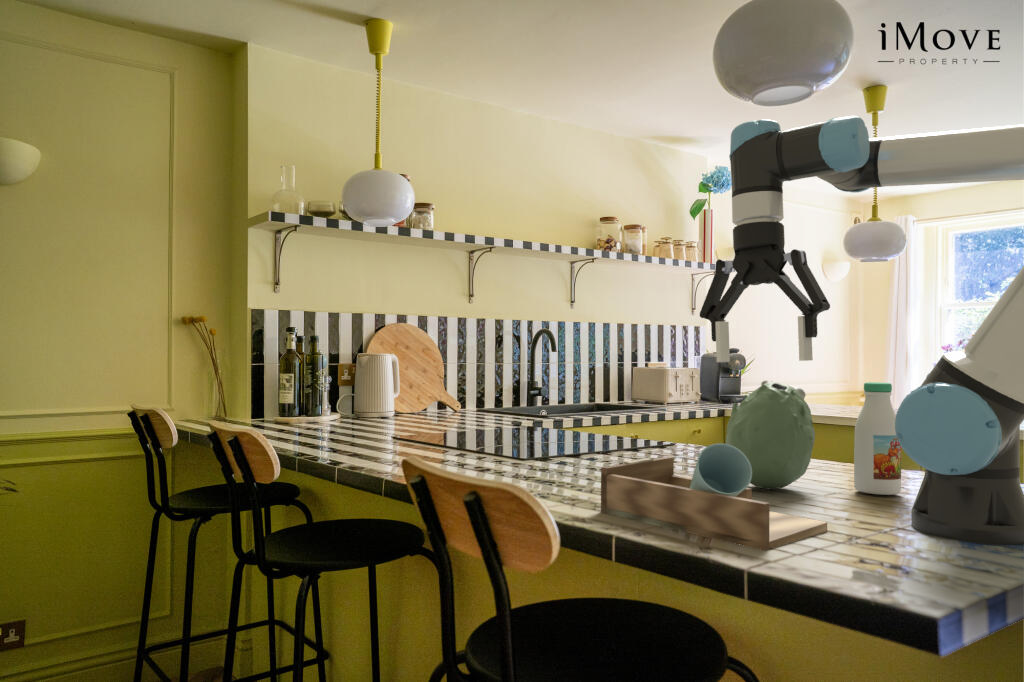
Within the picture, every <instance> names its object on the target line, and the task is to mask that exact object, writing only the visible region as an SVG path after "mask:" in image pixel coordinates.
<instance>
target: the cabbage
mask: <svg viewBox="0 0 1024 682" xmlns="http://www.w3.org/2000/svg"><path fill="white" fill-rule="evenodd" d="M760 383H761V384H760V386H759V387H757V388H756V389H755V390H753V391H752V392H751V393H749V394H744V399H743V400H741V402H740V404H739V405H738V404H737V402H736V401H734V402H733V403H734V404H732V407H731V412H730V418H729V420H728V422H727V426H726V436H725V444H728V445H731V446H734V447H736V448H737V449H739V450H740V451H741V452H742V453H744V455H745V456H746V457H747V458H748V460H749V462H750V464H751V467H752V479H751V482H750V484H751V485H753V486H755V487H758V488H761V489H764V490H771V489H783V488H785V487H787V486H790V485H791V484H792V483H795V482H796V481H798V480H799V479H800V478H801V477H802V476H804V475H805V474H806V471H807V469H808V468H809V465H810V462H811V458H812V454H813V453H812V452H813V448H814V445H815V439H816V432H815V429H814V425H813V417H812V411H811V409H810V407H809V405H808V403H807V402H806V400H805V397H806V394H807V393H806V392H805V391H804V389H802V388H800V387H798V386H796V387H792V386H791V385H789V384H782V383H780V382H774V381H772V380H769V379H767V380H763V381H762V382H760Z"/></svg>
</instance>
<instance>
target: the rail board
mask: <svg viewBox="0 0 1024 682" xmlns="http://www.w3.org/2000/svg"><path fill="white" fill-rule="evenodd" d="M674 465H675V464H674V457H673V456H664V457H657V458H650V457H646V458H641V459H639V458H638V459H634V460H627V461H624V462H623V463H619V464H614V465H606V466H601V467H600V513H603V514H607V515H611V516H615V517H618V518H619V517H620V518H625V519H628V520H633V521H636V522H641V523H645V524H649V525H654V526H658V527H663V528H666V529H671V530H674V531H680V532H684V533H687V534H692V535H697V536H701V537H706V538H709V539H713V538H714V540H717V539H718V540H717V541H721V540H722V542H726V541H727V542H726V543H730V542H731V543H730V544H734V543H736V544H735V545H739V544H740V546H743V545H744V547H747V546H748V547H747V548H751V547H752V548H751V549H757V550H760V549H761V550H760V551H764V550H765V551H767V549H768V550H771V549H774V548H777V546H778V547H780V545H781V546H784V545H787V544H790V542H791V543H794V542H796V541H800V540H802V539H806V538H810V537H813V536H816V535H820V534H823V533H826V532H828V521H822V520H816V519H812V518H805V517H803V516H802V517H801V516H797V515H791V514H787V513H786V514H785V513H780V512H775V511H772V510H770V505H771V504H770V502H766V501H761V500H756V499H753V494H752V493H753V492H752V491H753V488H751V487H747V488H746V489H745V490H743V491H742V492H741V493H740V494H738V495H737V496H736V497H735V496H729V495H724V494H718V493H713V492H707V491H702V490H697V489H691V488H690V485H691V481H692V478H693V477H686V476H682V475H677V474H676V475H675V474H674V469H675V468H674ZM786 543H787V544H786ZM773 547H774V548H773ZM770 548H771V549H770Z"/></svg>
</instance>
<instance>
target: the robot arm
mask: <svg viewBox="0 0 1024 682" xmlns="http://www.w3.org/2000/svg"><path fill="white" fill-rule="evenodd" d="M729 146H730V150H729V161H730V162H729V163H730V177H731V179H730V180H731V211H732V212H731V213H732V214H731V217H732V218H731V220H732V224H733V225H735V226H734V228H733V229H732V241H733V242H732V243H733V244H732V245H733V246H732V247H733V251H734V257H733V260H726V259H721V258H719V259H717V260H716V261H715V270H714V276H713V278H712V280H711V283H710V286H709V288H708V291H707V294H706V296H705V298H704V301H703V303H702V306H701V310H700V311H699V317H700V318H701V319H706V320H708V321H709V322H710V324H711V328H710V329H711V340H712V342H715V346H716V347H715V349H716V350H715V352H716V353H715V354H716V363H730V362H731V356H730V355H731V353H730V329H729V326H730V325H729V321H727V320H726V317H727V315H728V314H729V313H730V311H731V310H732V309H733V307H734V305H736V303H737V301H738V300H739V298H740V297H741V295H742V294H743V292H744V291H745V290H746V289H748V288H749V286H759V285H761V284H767V285H770V284H771V285H772V284H775V285H776V286H777V287H778V288H779V289H780V290H781V291H782V292H783V294H784V295H786V297H788V299H789V300H790V301H791V302H792V303H793V304H794V305H795V307H797V309H798V310H799V311H800V312H801V315H799V316H797V331H798V332H797V334H798V336H797V337H798V359H799V360H798V361H801V362H802V361H804V362H805V361H808V362H809V361H813V338H817V337H818V315H819V314H820V313H823V312H825V311H829V310H830V308H831V303H830V302H829V300H828V299H827V297H826V295H825V293H824V292H823V290H822V288H821V286H820V285H819V282H818V281H817V279H816V277H815V276H814V273H813V272H812V270H811V268H810V267H809V265H808V259H807V253H806V251H805V250H801V249H796V248H795V249H792V250H791V251H790V252H787V253H786V251H785V243H786V242H785V241H786V240H785V225H784V224H783V223H782V221H783V219H784V196H783V194H784V189H783V184H784V182H791V181H795V180H801V179H806V178H807V179H808V178H814V177H817V178H819V179H820V180H822V181H825V182H827V183H828V184H830V185H831V186H833V187H835V188H836V189H837V190H839V191H842V192H846V193H848V192H849V193H862V192H864V191H867V190H869V189H871V188H872V189H873V188H883V187H898V186H900V187H901V186H921V185H922V186H923V185H941V184H942V185H943V184H963V183H964V184H965V183H980V182H981V183H984V182H985V183H986V182H987V183H988V182H1002V181H1003V182H1005V181H1024V123H1023V124H1014V125H1003V126H993V127H982V128H970V129H960V130H959V129H957V130H949V131H948V130H947V131H946V130H945V131H939V132H937V131H935V132H927V133H917V134H914V133H913V134H905V135H895V136H886V137H873V138H870V136H869V131H868V128H867V126H866V123H865V121H864V120H863V118H862V117H860V116H857V115H851V116H850V115H849V116H844V117H843V116H842V117H833V118H829V119H828V120H825V121H821V122H816V123H812V124H807V125H803V126H800V127H794V128H791V129H786V130H782V129H781V126H780V123H779V122H778V121H776V120H772V119H758V120H750V121H746V122H742V123H740V124H738V125H736V126H735V127H734V128H733V130H732V131H731V133H730V145H729ZM787 262H788V264H789V266H792V267H793V270H794V272H795V274H796V276H797V278H798V279H799V281H800V283H801V285H802V287H803V289H804V290H805V292H806V294H807V296H808V297H807V296H806V295H805V294H804V293H803V292H802V291H801V290H800V289H799V288H798V287H797V286H796V284H795V283H794V282H792V279H790V276H789V275H788V274H787V273H786V272H785V271H784V270H783V269H784V267H785V266H786V265H787ZM734 270H735V272H736V274H735V276H734V277H733V279H732V280H731V282H730V286H729V287H728V288H727V289H726V286H727V284H728V281H729V279H730V274H731V273H732V272H733V271H734ZM725 289H726V291H725ZM724 292H725V293H724ZM895 414H896V418H895V431H896V435H897V439H898V441H899V443H900V445H901V450H903V452H904V453H905V454H906V456H907V457H908V458H909V459H910V460H912V461H913V462H914V463H915V464H917V465H918V466H920V467H921V468H923V469H924V476H923V478H922V481H921V484H920V488H919V489H918V492H917V495H916V497H915V500H914V503H913V505H912V509H911V515H910V516H911V518H910V520H911V521H910V522H911V523H910V524H911V526H912V527H913V528H914V529H915V530H917V531H920V532H922V533H925V534H927V535H931V536H935V537H939V538H943V539H948V540H952V541H957V542H958V541H959V542H965V543H973V544H982V545H992V544H993V545H995V546H997V545H998V546H1017V545H1019V546H1020V545H1024V491H1023V488H1022V486H1021V481H1020V477H1021V476H1020V475H1021V474H1020V473H1021V472H1020V469H1021V464H1020V463H1021V461H1020V460H1021V458H1020V457H1021V456H1020V455H1021V452H1020V451H1021V448H1020V447H1021V445H1020V444H1021V442H1020V439H1021V438H1020V436H1021V435H1020V433H1021V432H1020V425H1022V423H1023V422H1024V265H1023V266H1022V268H1021V269H1020V270H1019V271H1018V273H1017V275H1016V276H1015V277H1014V278H1013V279H1012V281H1011V283H1010V284H1009V285H1008V287H1007V288H1006V290H1005V291H1004V292H1003V294H1002V295H1001V296H1000V298H999V299H998V300H997V302H996V303H995V305H994V306H993V307H992V309H991V310H990V311H989V313H988V315H987V316H986V317H985V319H984V320H983V321H982V322H981V324H980V326H979V327H978V328H977V330H976V331H975V332H974V334H973V335H972V336H971V338H970V339H969V340H968V342H967V343H966V345H965V346H964V347H963V348H962V349H960V350H956V351H951V352H945V353H943V354H942V356H941V357H940V359H939V360H938V361H937V362H936V364H935V365H934V366H933V368H932V370H930V372H929V373H927V375H926V377H925V379H924V380H923V382H922V383H921V384H920V385H919V387H917V388H915V389H914V390H911V392H910V393H909V394H907V395H906V396H905V397H904V398H903V400H902V401H901V403H900V405H899V407H898V409H897V411H896V413H895Z"/></svg>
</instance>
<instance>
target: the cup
mask: <svg viewBox="0 0 1024 682" xmlns="http://www.w3.org/2000/svg"><path fill="white" fill-rule="evenodd" d="M691 478H692V481H691V485H690V488H691V489H697V490H702V491H707V492H713V493H718V494H724V495H729V496H735V497H736V496H737V495H738V494H740V493H741V492H742V491H743V490H745V489H746V488H749V485H750V484H751V483H750V482H751V479H752V467H751V464H750V462H749V460H748V458H747V457H746V456H745V455H744V453H742V452H741V451H740V450H739V449H737V448H736V447H734V446H731V445H728V444H726V443H719V442H718V443H713V444H710V445H708V446H706V447H705V448H703V450H701V451H700V453H699V455H698V457H697V459H696V463H695V467H694V471H693V474H692V477H691Z"/></svg>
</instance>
